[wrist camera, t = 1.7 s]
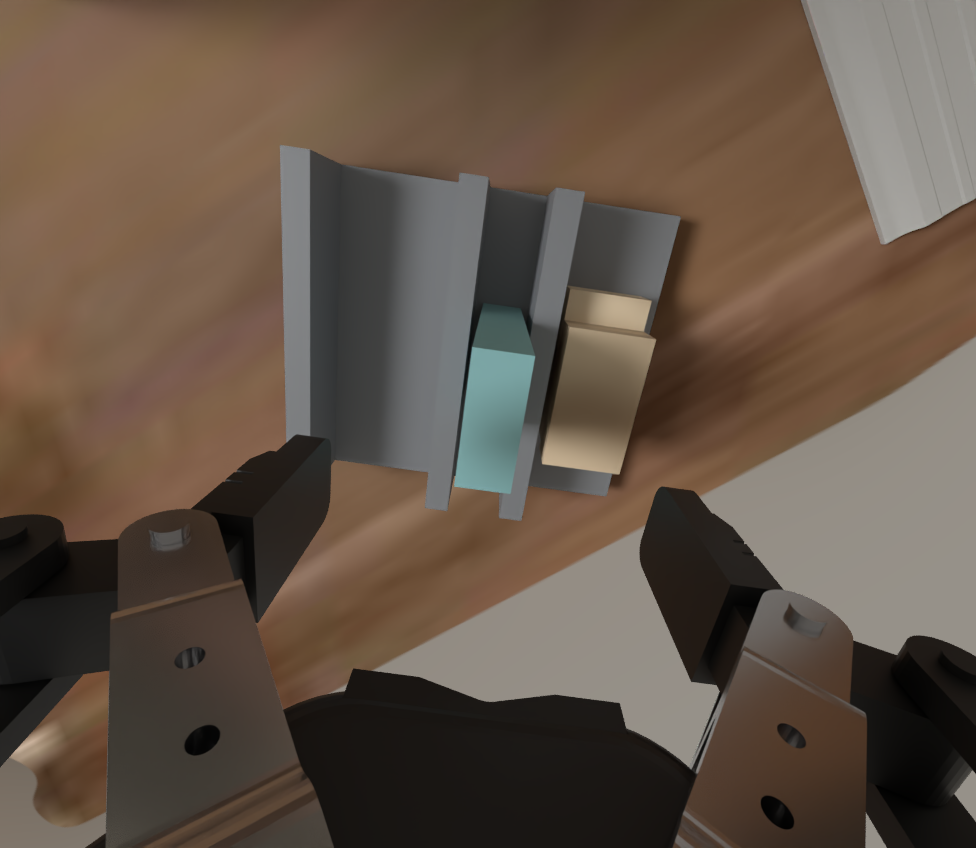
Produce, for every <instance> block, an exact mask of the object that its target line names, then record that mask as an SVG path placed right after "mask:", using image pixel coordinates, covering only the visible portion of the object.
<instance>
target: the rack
mask: <svg viewBox="0 0 976 848" xmlns="http://www.w3.org/2000/svg"><path fill="white" fill-rule="evenodd" d="M280 164H281V211H282V257H283V303H284V349H285V396H286V442H288V441H289V440H290V439H291V438H292V437H293V436H295V435H296V434H299V435H306V436H313V437H320V438H327V439H329V440H330V443H331V464H332V463H333V462H334V460H340V461H348V462H355V463H363V464H370V465H378V466H385V467H392V468H400V469H407V470H415V471H422V472H429V473H428V482H427V492H426V502H425V508H429V509H436V510H444V511H447V509H448V504H449V499H450V494H451V489H452V484H453V479H454V476H456V469H457V461H458V453H459V446H460V438H461V430H462V422H463V414H464V407H465V399H466V391H467V383H468V375H469V368H470V360H471V352H472V346H473V342H474V338H475V334H476V330H477V326H478V322H479V319H480V315H481V311H482V307H483V303H487V304H494V305H501V306H508V307H515V308H521V311H522V314H523V317H524V321H525V324H526V327H527V331H528V334H529V337H530V340H531V344H532V347H533V350H534V353H535V361H534V366H533V372H532V377H531V383H530V388H529V394H528V400H527V405H526V411H525V416H524V422H523V427H522V433H521V438H520V444H519V450H518V455H517V461H516V466H515V472H514V477H513V483H512V489H511V494H507V493H499V518H504V519H512V520H519V521H521V520H522V514H523V509H524V504H525V499H526V494H527V489H528V486H533V487H541V488H548V489H556V490H563V491H570V492H578V493H585V494H593V495H600V496H606V495H607V492H608V488H609V484H610V480H611V477H612V473H605V472H597V471H590V470H583V469H575V468H568V467H561V466H553V465H546V464H542V460H541V455H540V450H539V446H540V441H541V438H540V433H539V427H540V422H541V417H542V411H543V406H544V401H545V396H546V391H547V386H548V381H549V375H550V370H551V365H552V360H553V355H554V350H555V345H556V339H557V334H558V329H559V324H560V319H561V314H562V308H563V303H564V298H565V293H566V288H567V285H568V286H574V287H581V288H588V289H595V290H601V291H608V292H615V293H622V294H628V295H635V296H641V297H643V298H646V299H648V300H651V301H652V302H651V306H650V310H649V313H648V317H647V321H646V325H645V329H644V332H645V333H647V334H648V335H649V334H650V331H651V327H652V323H653V319H654V316H655V312H656V308H657V304H658V301H659V297H660V293H661V289H662V286H663V282H664V278H665V274H666V271H667V267H668V263H669V259H670V256H671V252H672V248H673V244H674V241H675V237H676V233H677V229H678V226H679V222H680V218H681V217H680V216H674V215H667V214H661V213H654V212H648V211H641V210H635V209H628V208H622V207H615V206H609V205H602V204H596V203H589V202H583V200H584V195H585V192H582V191H576V190H569V189H563V188H555V189H554V190H553V191H552V192H551V193H550V194H549V195H548V196H543V195H537V194H530V193H524V192H517V191H511V190H504V189H498V188H491V187H490V181H489V177H485V176H478V175H472V174H465V173H460V174H459V182H452V181H446V180H439V179H432V178H426V177H419V176H413V175H406V174H400V173H393V172H387V171H380V170H374V169H367V168H361V167H354V166H348V165H341V164H339V163H337V162H335V161H333V160H331V159H329V158H326V157H324V156H322V155H320V154H318V153H316V152H314V151H312V150H309V149H303V148H296V147H290V146H283V145H280Z"/></svg>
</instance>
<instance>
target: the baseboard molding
mask: <svg viewBox="0 0 976 848" xmlns="http://www.w3.org/2000/svg"><path fill="white" fill-rule="evenodd" d="M801 3H802V6H803V9H804V12H805V15H806V18H807V21H808V24H809V27H810V30H811V33H812V36H813V39H814V42H815V45H816V48H817V51H818V54H819V57H820V60H821V63H822V66H823V69H824V72H825V75H826V78H827V82H828V85H829V88H830V91H831V94H832V97H833V100H834V103H835V106H836V109H837V112H838V115H839V118H840V121H841V124H842V127H843V130H844V133H845V136H846V139H847V142H848V145H849V148H850V151H851V154H852V157H853V160H854V163H855V166H856V169H857V173H858V176H859V179H860V182H861V185H862V188H863V191H864V194H865V197H866V200H867V203H868V206H869V209H870V212H871V215H872V218H873V221H874V224H875V227H876V230H877V233H878V236H879V239H880V242H881V244H887V243H889V242H891V241H893V240H894V239H896V238H898V237H900V236H902V235H904V234H906V233H909V232H911V231H914V230H917V229H920V228H923V227H926V226H928V225H930V224H931V223H933V222H935V221H937V220H938V219H940V218H942V217H943V216H944V215H946V214H948V213H949V212H951V211H953V210H955V209H956V208H958V207H960V206H962V205H964V204H966V203H968V202H970V201H972V200H974V199H975V198H976V0H801Z"/></svg>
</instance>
